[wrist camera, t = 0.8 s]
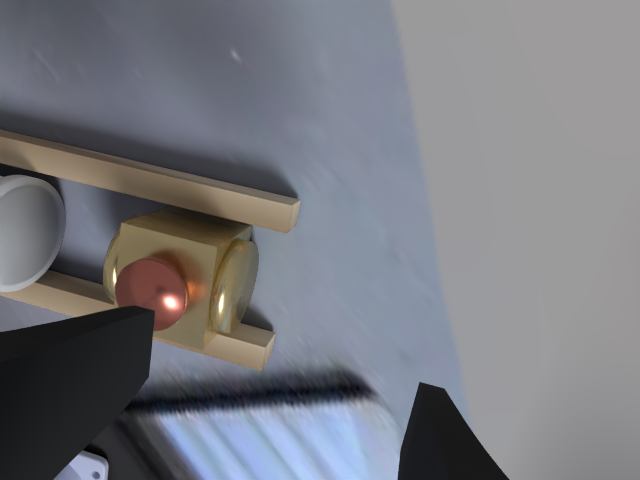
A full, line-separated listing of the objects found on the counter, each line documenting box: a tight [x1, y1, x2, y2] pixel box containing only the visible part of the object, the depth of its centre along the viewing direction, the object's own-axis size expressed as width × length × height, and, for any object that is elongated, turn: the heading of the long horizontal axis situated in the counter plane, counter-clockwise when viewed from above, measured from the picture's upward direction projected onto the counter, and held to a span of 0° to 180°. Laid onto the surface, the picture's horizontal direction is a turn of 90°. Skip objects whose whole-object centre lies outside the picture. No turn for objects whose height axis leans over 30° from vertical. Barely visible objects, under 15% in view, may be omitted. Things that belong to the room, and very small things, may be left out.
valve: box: [103, 206, 259, 350], centre depth 20 cm, size 5×4×5 cm
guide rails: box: [0, 129, 301, 371], centre depth 22 cm, size 8×17×2 cm, turn 79°
